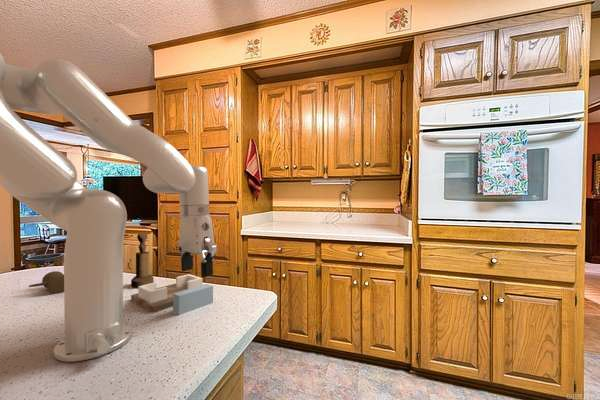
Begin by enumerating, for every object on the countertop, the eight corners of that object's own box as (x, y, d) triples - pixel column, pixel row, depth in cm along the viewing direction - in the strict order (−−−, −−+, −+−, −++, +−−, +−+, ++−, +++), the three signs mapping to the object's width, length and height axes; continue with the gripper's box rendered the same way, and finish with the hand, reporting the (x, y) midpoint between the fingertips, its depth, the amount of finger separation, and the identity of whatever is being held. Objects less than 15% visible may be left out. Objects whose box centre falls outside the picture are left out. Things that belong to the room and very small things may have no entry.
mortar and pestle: (147, 280, 96) (147, 230, 96) (157, 284, 92) (157, 232, 92) (127, 285, 91) (127, 232, 90) (136, 289, 87) (136, 234, 87)
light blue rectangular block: (213, 303, 76) (212, 285, 76) (179, 315, 68) (179, 296, 68) (206, 300, 78) (206, 283, 78) (173, 312, 70) (173, 293, 70)
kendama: (110, 284, 94) (31, 299, 78) (101, 279, 100) (25, 293, 84) (111, 267, 94) (31, 279, 78) (101, 263, 100) (26, 274, 84)
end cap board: (210, 294, 83) (210, 289, 83) (153, 312, 69) (153, 307, 69) (186, 285, 91) (186, 280, 91) (131, 300, 78) (131, 295, 78)
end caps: (202, 287, 84) (202, 278, 84) (150, 303, 72) (150, 292, 72) (189, 283, 89) (189, 274, 89) (138, 296, 77) (138, 286, 76)
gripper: (225, 211, 71) (227, 274, 72) (190, 209, 81) (192, 264, 82) (200, 213, 65) (202, 283, 66) (165, 211, 75) (167, 271, 76)
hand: (197, 272), depth 74 cm, fingers open, 9 cm apart
